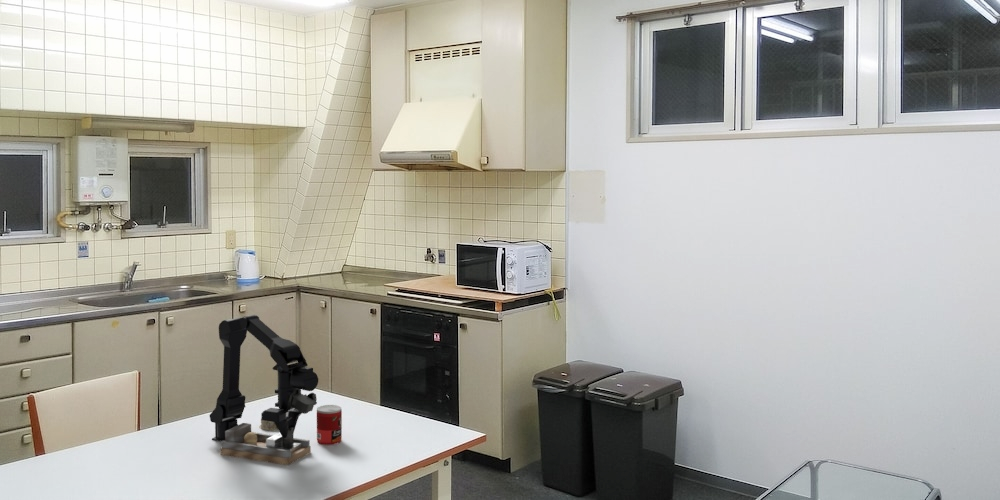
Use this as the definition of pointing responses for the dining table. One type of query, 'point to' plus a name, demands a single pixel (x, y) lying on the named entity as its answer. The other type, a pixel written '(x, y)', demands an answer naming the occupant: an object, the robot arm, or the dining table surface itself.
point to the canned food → (329, 424)
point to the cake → (268, 425)
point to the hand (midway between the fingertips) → (287, 436)
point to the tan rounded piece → (250, 438)
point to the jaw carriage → (283, 441)
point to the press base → (260, 447)
